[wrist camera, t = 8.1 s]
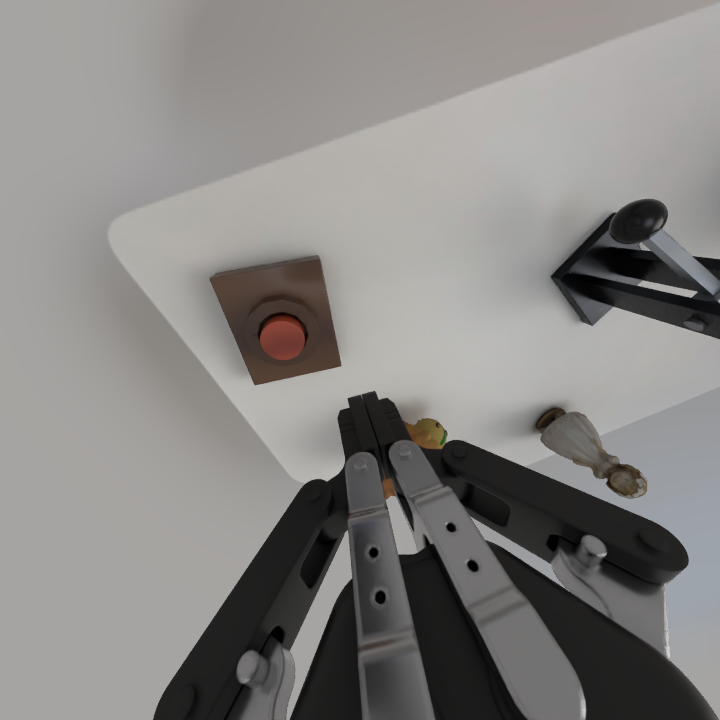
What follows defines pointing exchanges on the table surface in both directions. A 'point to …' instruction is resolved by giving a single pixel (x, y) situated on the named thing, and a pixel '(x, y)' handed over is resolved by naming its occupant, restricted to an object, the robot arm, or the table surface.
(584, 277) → the bracket
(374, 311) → the table surface
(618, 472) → the figurine
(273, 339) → the button
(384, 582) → the robot arm
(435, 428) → the toy
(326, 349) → the button block
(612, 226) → the tap lever
